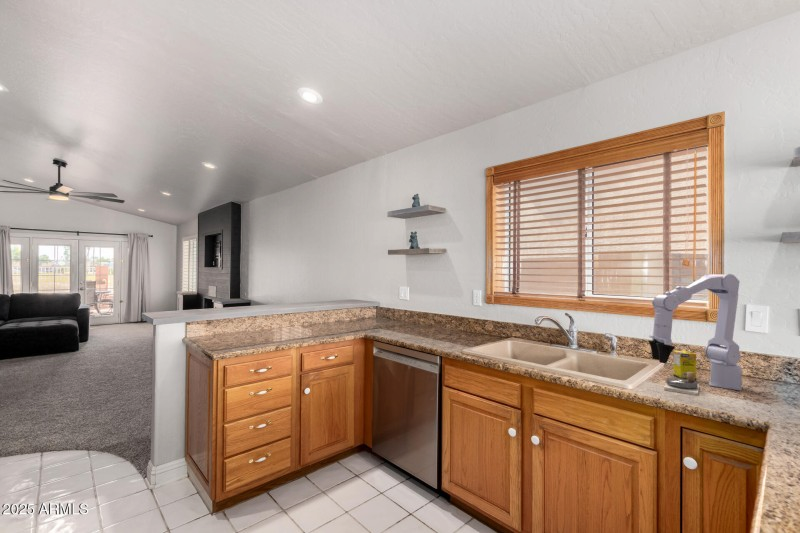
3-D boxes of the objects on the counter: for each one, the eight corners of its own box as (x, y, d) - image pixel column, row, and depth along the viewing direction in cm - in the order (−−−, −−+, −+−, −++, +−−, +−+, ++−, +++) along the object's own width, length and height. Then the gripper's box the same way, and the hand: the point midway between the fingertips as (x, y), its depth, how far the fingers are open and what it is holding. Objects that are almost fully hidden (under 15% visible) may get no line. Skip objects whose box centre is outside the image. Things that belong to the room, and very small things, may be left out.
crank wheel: (680, 389, 139) (680, 376, 139) (660, 381, 148) (660, 369, 148) (704, 388, 140) (704, 376, 140) (683, 381, 149) (683, 369, 149)
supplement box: (696, 380, 155) (696, 353, 155) (680, 379, 156) (680, 353, 156) (688, 376, 161) (688, 350, 161) (673, 375, 162) (673, 350, 162)
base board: (698, 387, 146) (698, 384, 146) (697, 395, 136) (697, 392, 136) (667, 382, 152) (667, 379, 152) (664, 389, 142) (664, 386, 142)
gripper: (644, 322, 153) (641, 356, 153) (657, 326, 139) (653, 362, 139) (665, 325, 151) (661, 359, 151) (679, 329, 137) (676, 366, 137)
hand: (659, 361), depth 145 cm, fingers open, 7 cm apart
